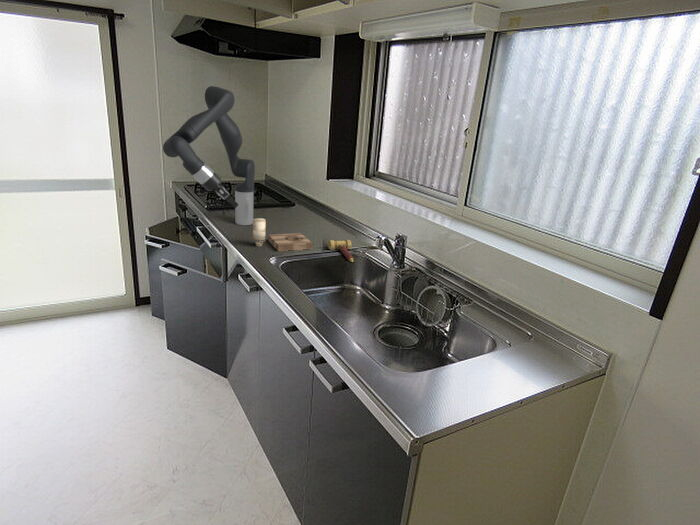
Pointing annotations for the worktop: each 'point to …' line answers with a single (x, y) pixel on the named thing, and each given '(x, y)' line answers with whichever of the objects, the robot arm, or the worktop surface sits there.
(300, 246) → the board
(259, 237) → the cream upside-down bottle
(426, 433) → the worktop surface
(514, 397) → the worktop surface
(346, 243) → the gavel
